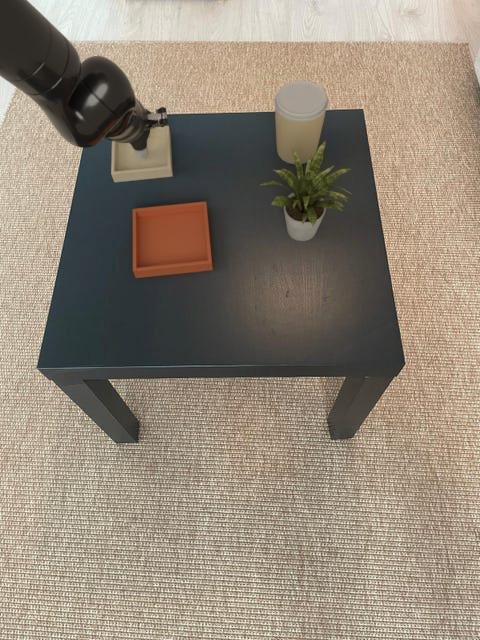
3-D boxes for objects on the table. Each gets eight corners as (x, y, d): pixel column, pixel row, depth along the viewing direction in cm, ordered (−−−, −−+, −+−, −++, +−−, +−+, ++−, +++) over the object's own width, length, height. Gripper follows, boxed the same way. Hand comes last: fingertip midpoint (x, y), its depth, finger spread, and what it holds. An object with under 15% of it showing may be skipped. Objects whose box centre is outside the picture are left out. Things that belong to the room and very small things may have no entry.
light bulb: (131, 145, 95) (118, 102, 86) (159, 146, 95) (148, 103, 86) (126, 167, 92) (112, 124, 83) (155, 167, 92) (144, 125, 83)
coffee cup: (315, 130, 96) (322, 76, 85) (324, 165, 92) (333, 112, 81) (269, 135, 96) (270, 81, 85) (276, 170, 91) (278, 118, 81)
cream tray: (114, 182, 91) (111, 173, 89) (115, 140, 96) (112, 131, 94) (172, 176, 92) (170, 167, 90) (170, 134, 97) (168, 125, 95)
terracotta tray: (135, 278, 82) (132, 271, 80) (135, 217, 88) (132, 208, 85) (213, 270, 82) (211, 262, 80) (207, 209, 88) (206, 201, 86)
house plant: (281, 280, 80) (286, 218, 66) (243, 222, 86) (240, 153, 72) (353, 247, 83) (373, 180, 68) (312, 192, 89) (322, 120, 74)
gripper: (161, 83, 72) (171, 98, 88) (65, 93, 71) (92, 106, 87) (168, 137, 74) (177, 141, 90) (75, 146, 74) (100, 149, 90)
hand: (135, 124), depth 89 cm, fingers closed on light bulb, 5 cm apart
